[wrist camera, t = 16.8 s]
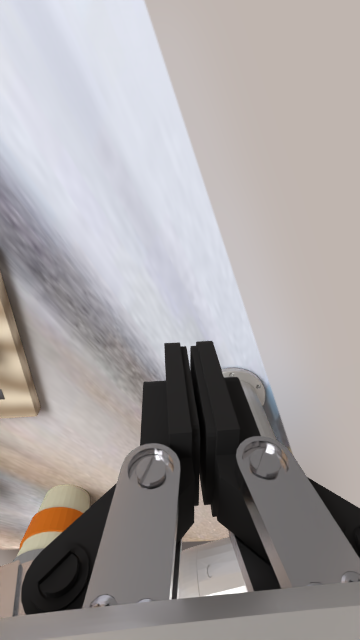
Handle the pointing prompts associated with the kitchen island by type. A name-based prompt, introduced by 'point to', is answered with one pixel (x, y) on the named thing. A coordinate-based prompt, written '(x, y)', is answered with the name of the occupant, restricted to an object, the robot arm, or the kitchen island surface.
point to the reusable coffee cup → (52, 519)
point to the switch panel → (14, 367)
